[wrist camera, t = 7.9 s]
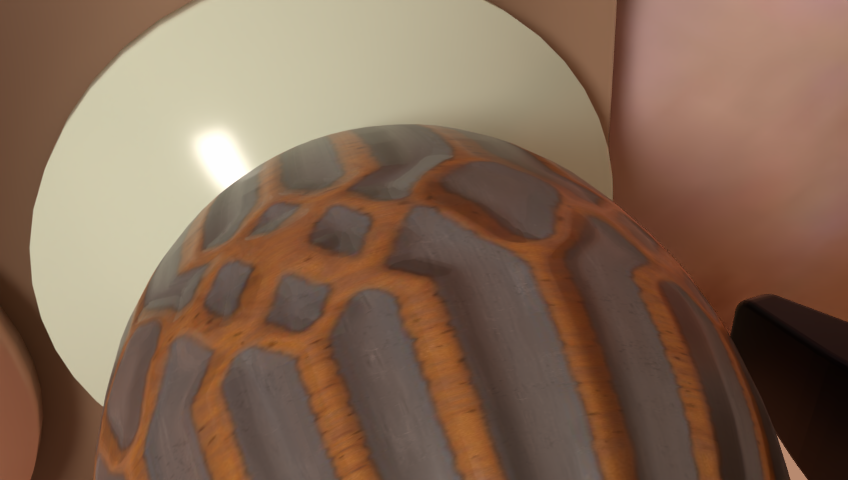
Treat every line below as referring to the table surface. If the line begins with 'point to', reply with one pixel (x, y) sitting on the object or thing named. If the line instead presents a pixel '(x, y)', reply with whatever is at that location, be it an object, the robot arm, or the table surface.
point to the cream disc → (268, 130)
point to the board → (62, 89)
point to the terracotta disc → (18, 405)
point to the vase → (426, 331)
